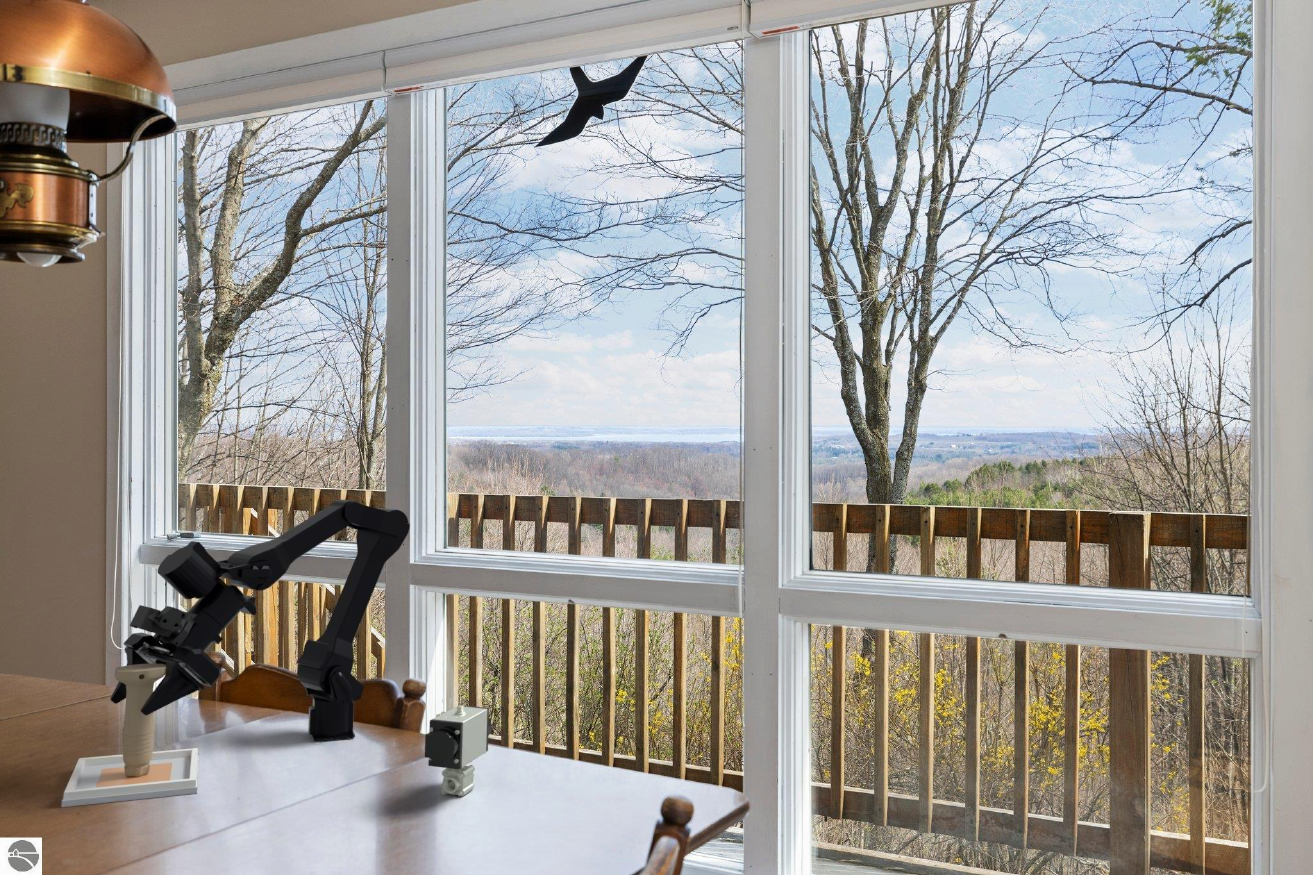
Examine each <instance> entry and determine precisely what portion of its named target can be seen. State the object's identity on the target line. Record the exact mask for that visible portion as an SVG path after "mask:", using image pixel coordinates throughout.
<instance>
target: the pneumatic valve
mask: <svg viewBox="0 0 1313 875" xmlns="http://www.w3.org/2000/svg"><path fill="white" fill-rule="evenodd" d="M491 732H492V722H491V718H490V708H489V707H482V706H474V705H463V704H459V705H457V706H456V707H454V708H451V709H450V710H448V711H441V712H440V713H436V715H435V717H434V718H432V719H430V720H429V731H428V733H426V734H425V735H424V758H428V766H429V767H433V768H434V767H435V768H444V769H443V770H442V772H441V775H442V776H443V778H442V784H441V786H442V788H441V794H442V795H444V794H446V795H448V794H450V795H451V796H452V795H453V796H455V795H458V797H460V796H463V797H464V796H465V795H467V794H469V793H470V792H472V791H473V790H474V789H473V788H475V784H474V776H475V774H474V772H475V770H476V768H475V766H474V765H473V764H470V763H473V761H474V760H476V759H478V758H479V757H481V756H482V755H484V754H486V753H488V751H489V736H490V734H491ZM468 764H470V765H468ZM472 789H473V790H472Z"/></svg>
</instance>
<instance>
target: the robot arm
mask: <svg viewBox="0 0 1313 875" xmlns="http://www.w3.org/2000/svg"><path fill="white" fill-rule="evenodd" d="M347 527H348V528H350V529H353V530H356V537H355V538H356V549H357V550H356V551H357V552H356V556H355V559H354V561H353V564H352V566H351V568H350V571H349V573H348V575H347V578H346V580H345V582H344V585H343V587H342V590H341V592H340V594H339V597H338V600H337V602H336V604H335V606H334V609H333V611H332V613H331V616H330V618H329V621H328V622H327V626H326V628H325V630H324V632H323V634H321V635H320V637H319V638H318V639H316V640H313V639H307V640H306V642H305V643H304V647H303V651H302V653H301V655H300V657H299V658H298V659H297V660H296V664H298V667H297V670H296V671H297V672H296V675H297V677H298V680H299V682H300V683H301V685H302V686H303V687H304V690H305V693H306V696H308V697H312V705H311V706H309V707H308V725H307V726H308V728H307V729H308V735H310V736H311V738H312V740H313V741H314V742H319V741H320V742H321V741H332V740H342V739H343V740H345V739H353V738H356V733H355V732H354V717H355V716H354V715H355V714H354V713H355V712H354V711H355V701H359V700H361V699H362V696H363V693H364V689H365V686H364V685H363V684H362V683H361V682H360V681H359V680H358V679H357V678H356V677H355V676H353V674H352V671H353V667H354V662H355V656H354V655H355V654H354V641H355V638H356V635H357V632H358V630H359V628H360V626H361V623H362V621H363V618H364V617H365V613H366V610H367V608H368V607H369V606H368V605H369V604H370V601H371V598H372V596H373V593H374V591H375V588H376V586H377V584H378V581H379V579H380V576H381V573H382V571H383V569H384V566H385V564H386V563H387V561H388V560H389V559H391V558H392V556H393V555H395V554H396V553H397V552H398V551H399V550H400V549H401V546H402V545H403V543H404V542H405V540H406V538H407V536H408V535H409V533H410V529H411V523H410V522H409V518H408V516H407V515H406V513H404V511H402V510H399V509H392V508H381V507H380V508H379V507H372V506H370V505H366V504H363V503H359V502H358V501H355V500H351V499H335V500H334V501H332V502H330V504H328V506H326V507H325V508H323V509H322V510H320V511H319V512H316V513H315V514H313V515H312V516H310V517H308V518H306V519H305V520H303V521H301V523H299V524H297V525H295V526H294V527H292V528H290V529H289V530H287V531H285V532H284V533H282V534H280V535H279V536H278V537H275V538H273V539H271V540H268V541H263V542H260V543H256V544H252V545H249V546H248V547H245V548H242V549H240V550H238V551H235V552H233V553H232V554H231V555H230V556H229V557H228V558H226V559H221V560H219V561H218V560H217V561H216V560H215V559H214V557H213V556H211V555H210V553H209V552H208V551H207V550H206V548H205V547H204V545H203V544H202V543H200V541H194V540H192V541H191V540H190V542H189V543H187V545H186V546H183V547H180V548H179V549H176V550H175V551H174V552H172V553H171V554H168V555H167V556H166V557H165V558H164V559H163V560H162V561H161V562H160V564H159V566H158V568H157V574H158V575H160V576H161V578H162V579H163V580H164V581H166V582H167V583H168V584H169V585H170V587H172V588H173V589H174V590H175V591H176V592H177V593H178V594H179V595H181V597H182V598H184V600H192V599H196V600H197V601H196V602H195V603H194V604H193V605H192V607H191V608H189V609H188V611H185V610H184V611H183V610H181V609H179V608H176V607H173V606H168V605H167V606H165V607H164V608H163V609H161V610H160V609H156V608H153V607H150V606H145V605H141V604H140V605H138V607H137V609H136V611H135V613H134V615H133V617H132V620H131V622H130V624H129V627H131V628H134V629H139V630H143V631H145V632H149V633H153V634H154V635H152V634H148V633H144V632H136V633H131V635H129V637H128V638H127V639H126V640H125V641H124V642H123V645H124V646H125V647H124V653H125V654H126V665H125V666H128V665H137V664H164V665H166V674H165V675H164V676H163V677H162V678H161V680H160V682H159V683H158V685H157V686H156V687H155V688H154V689H153V693H152V694H151V695H150V697H149V698H148V699H147V701H146V702H145V704H144V705H143V707H142V708H141V710H140V711H141V712H142V713H143V714H144V715H149V714H151V713H153V712H157V711H158V710H161V709H162V708H164V707H167V706H168V705H170V704H172V703H174V702H176V701H178V700H180V699H182V698H184V697H187V696H189V695H191V694H193V693H196V692H198V691H203V690H204V689H205V688H206V687H210V688H212V687H213V686H214V685H215V684H216V683H217V681H218V680H219V679H220V678H221V675H222V674H221V673H222V668H221V666H220V665H219V664H218V663H217V662H216V661H214V659H212V658H211V657H210V656H209V655H208V654H207V652H206V651H207V650H208V649H209V648H210V646H211V645H213V644H214V645H219V644H221V642H222V641H223V639H224V638H223V637H222V636H221V634H222V633H223V631H224V630H225V629H226V628H227V627H228V626H229V625H230V624H231V623H232V622H233V620H234V619H235V618H236V617H237V615H238V614H239V613H241V614H246V615H251V616H255V615H257V612H258V611H257V606H256V599H257V598H256V597H255V596H251V595H245V593H244V592H243V591H241V590H240V588H242V589H248V590H253V591H261V592H262V591H265V590H268V589H269V588H271V587H272V586H273V585H274V584H275V583H276V582H278V580H280V579H281V578H282V577H284V575H285V574H287V572H288V570H289V568H290V566H291V565H292V564H293V563H294V562H295V561H297V559H299V558H300V557H302V556H303V555H305V554H307V553H308V552H310V551H312V550H313V549H315V548H316V547H317V546H320V545H321V544H323V543H324V542H326V541H327V540H329V539H330V538H332V537H333V536H335V535H336V534H338V533H340V532H342V531H343V530H344V529H346V528H347ZM223 579H224V580H225V579H227V581H228V583H230V584H231V585H228V584H227V583H226V582H225V581H223ZM205 686H206V687H205ZM126 694H127V691H126V685H125V684H124V683H122V682H120V681H118V682H117V685H116V686H115V688H114V690H113V692H112V695H111V696H110V701H111V702H112V704H115V705H117V704H119V703H120V702H122V701H124V700H126Z"/></svg>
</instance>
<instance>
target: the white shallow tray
mask: <svg viewBox="0 0 1313 875" xmlns="http://www.w3.org/2000/svg"><path fill="white" fill-rule="evenodd" d="M198 752H199V748H198V747H195V748H185V749H171V750H170V749H169V750H159V751H153V753H152V758H151V761H150V765H151V766H150V772H149V773H148V774H146V775H142V776H139V777H134V776H131V777H127V776H126V775H125V769H124V765H126V764H124V760H123V754H113V755H104V756H103V755H101V756H90V757H79V758H78V760H77V762H76V765H75V767H74V770H73V772H72V774H71V776H70V778H69V781H68V782H67V785H66V787H65V790H64V791H63V797H62V800H61V808H68V807H69V808H70V807H77V806H84V805H85V806H87V805H95V804H98V805H99V804H106V803H117V802H127V801H134V800H135V801H136V800H145V799H155V798H164V797H166V798H167V797H175V796H185V795H192V794H193V795H194V794H197V793H198V779H199V768H200V767H199V765H200V764H199V763H200V754H198Z"/></svg>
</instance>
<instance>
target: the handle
mask: <svg viewBox="0 0 1313 875" xmlns="http://www.w3.org/2000/svg"><path fill="white" fill-rule="evenodd" d="M165 674H166V665H164V664H137V665H128V666H126V665H123V666H119V667H115V669H114V678H115V680H116V681H118V682H119V681H120V682H122V683H124V684H125V685H126V691H127V694H126V698H125V705H124V706H125V707H124V708H125V710H124V717H123V718H124V719H123V727H122V736H121V738H122V740H121V741H122V745H121V747H122V749H121V750H122V755H123V760H124V764H126V765H124V769H125V775H126V776H127V777H131V776H134V777H139V776H142V775H146V774H148V773H149V772H150V766H151V765H150V761H151V758H152V753H153V752H154V744H155V715H154V712H153V713H151V714H149V715H144V714H143V713H142V712H141V711H140V710H141V708H142V707H143V705H144V704H145V702H146V701H147V699H148V698H149V697H150V695H151V694H152V693H153V691H154V686H155V682H157V681H158V680H160V679H163V678H164V676H165Z"/></svg>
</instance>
